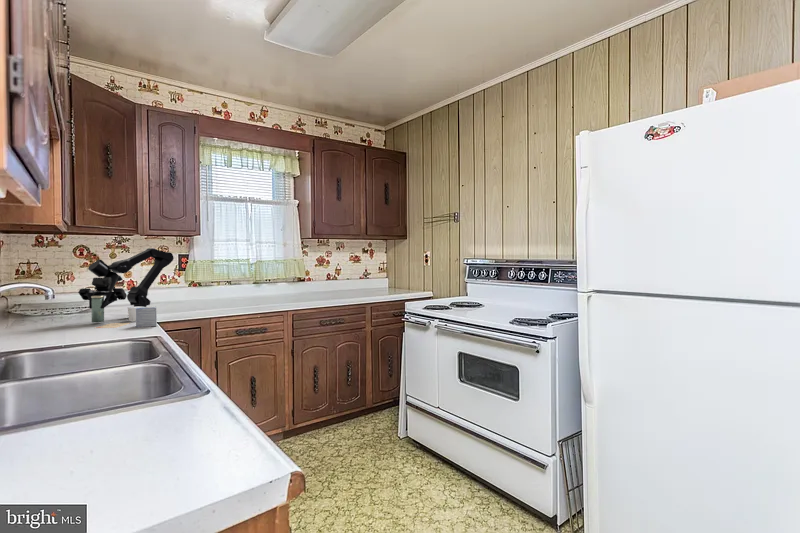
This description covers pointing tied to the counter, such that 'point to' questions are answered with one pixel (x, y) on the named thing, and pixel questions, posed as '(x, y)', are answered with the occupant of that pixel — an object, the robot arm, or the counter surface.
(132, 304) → the robot arm
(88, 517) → the counter surface
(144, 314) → the medicine box
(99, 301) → the tea tin
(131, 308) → the shot glass
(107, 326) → the kraft envelope
